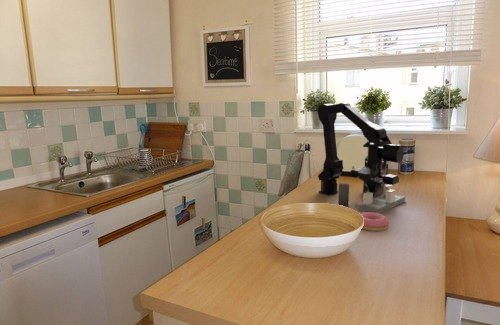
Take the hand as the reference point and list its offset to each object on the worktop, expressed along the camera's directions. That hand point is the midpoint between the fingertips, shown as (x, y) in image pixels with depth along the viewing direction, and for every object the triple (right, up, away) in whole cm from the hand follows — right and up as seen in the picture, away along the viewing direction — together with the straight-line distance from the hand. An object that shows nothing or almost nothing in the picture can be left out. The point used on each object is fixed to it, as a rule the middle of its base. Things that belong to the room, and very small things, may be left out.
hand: (372, 196), depth 149 cm
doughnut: (-8, -8, -24) cm, 27 cm away
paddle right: (+8, 0, +4) cm, 8 cm away
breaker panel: (+3, -3, -3) cm, 5 cm away
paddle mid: (+5, -2, -5) cm, 8 cm away
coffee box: (+5, 0, +14) cm, 15 cm away
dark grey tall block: (-12, -3, -2) cm, 13 cm away
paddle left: (-4, -2, -7) cm, 8 cm away
